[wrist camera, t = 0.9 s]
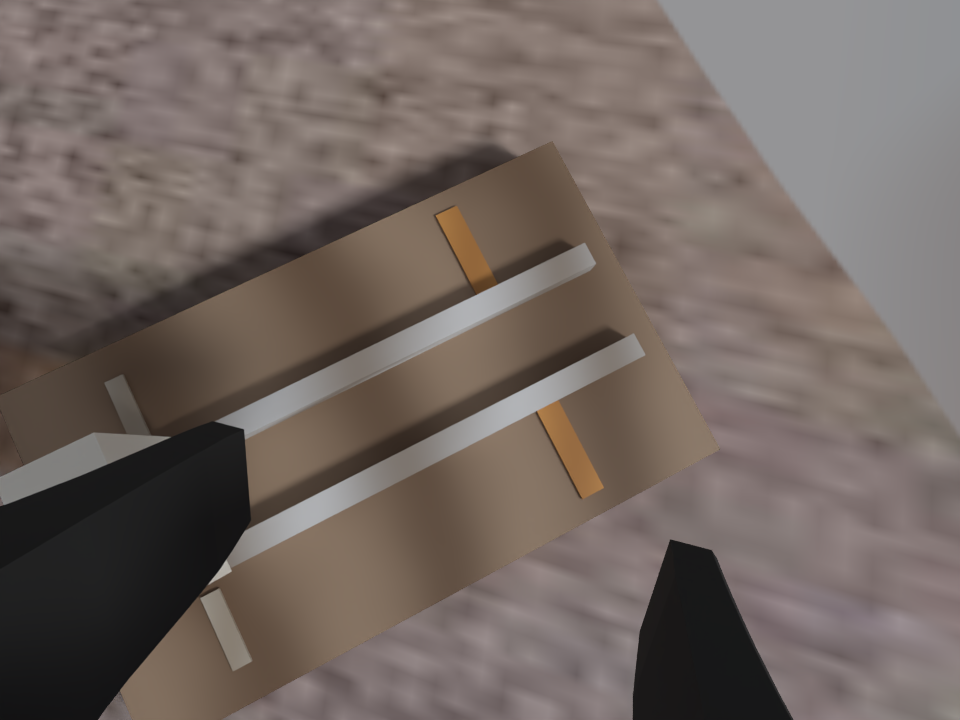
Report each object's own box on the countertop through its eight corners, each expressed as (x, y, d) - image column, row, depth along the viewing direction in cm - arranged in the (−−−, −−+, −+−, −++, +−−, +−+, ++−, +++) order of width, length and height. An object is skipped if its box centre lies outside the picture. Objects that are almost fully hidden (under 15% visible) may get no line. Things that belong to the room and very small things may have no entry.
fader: (156, 609, 20) (55, 665, 14) (98, 477, 20) (-20, 486, 15) (249, 561, 20) (183, 600, 15) (190, 433, 20) (106, 426, 15)
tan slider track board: (180, 725, 22) (136, 771, 18) (41, 403, 23) (-24, 395, 20) (692, 449, 24) (730, 449, 21) (542, 170, 25) (556, 129, 22)
